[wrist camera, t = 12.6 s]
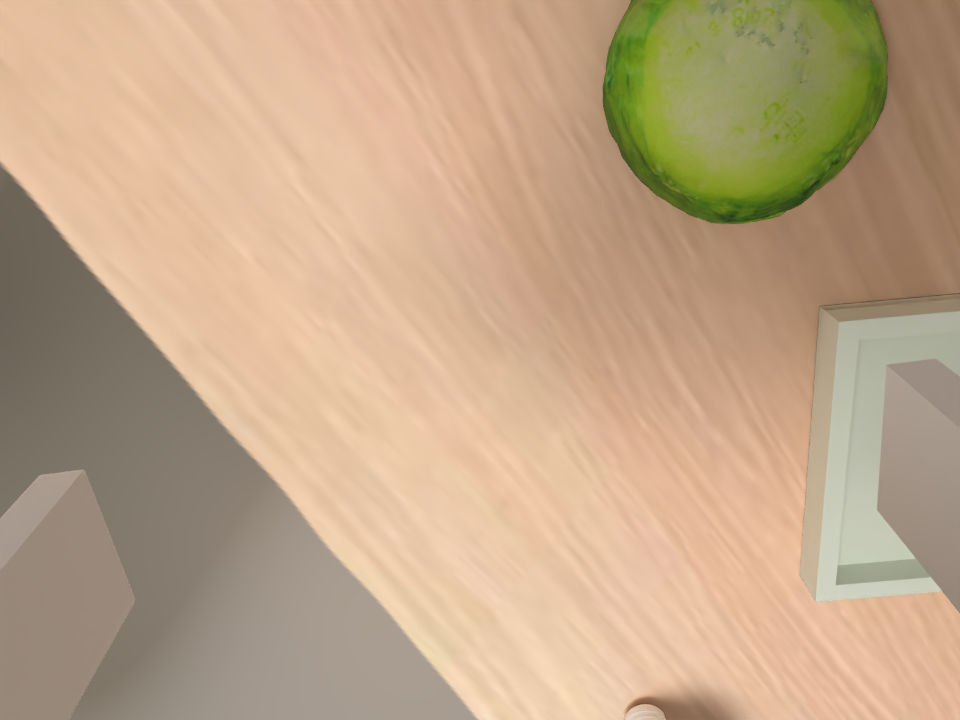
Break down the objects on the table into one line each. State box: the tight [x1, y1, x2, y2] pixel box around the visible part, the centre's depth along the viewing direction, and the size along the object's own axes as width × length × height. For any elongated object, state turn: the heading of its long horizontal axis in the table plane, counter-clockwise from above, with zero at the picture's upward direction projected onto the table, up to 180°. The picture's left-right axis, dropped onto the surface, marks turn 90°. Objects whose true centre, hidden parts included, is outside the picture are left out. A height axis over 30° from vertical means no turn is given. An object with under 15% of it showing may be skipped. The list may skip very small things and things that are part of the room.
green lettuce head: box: [603, 0, 888, 224], centre depth 33 cm, size 12×11×5 cm
